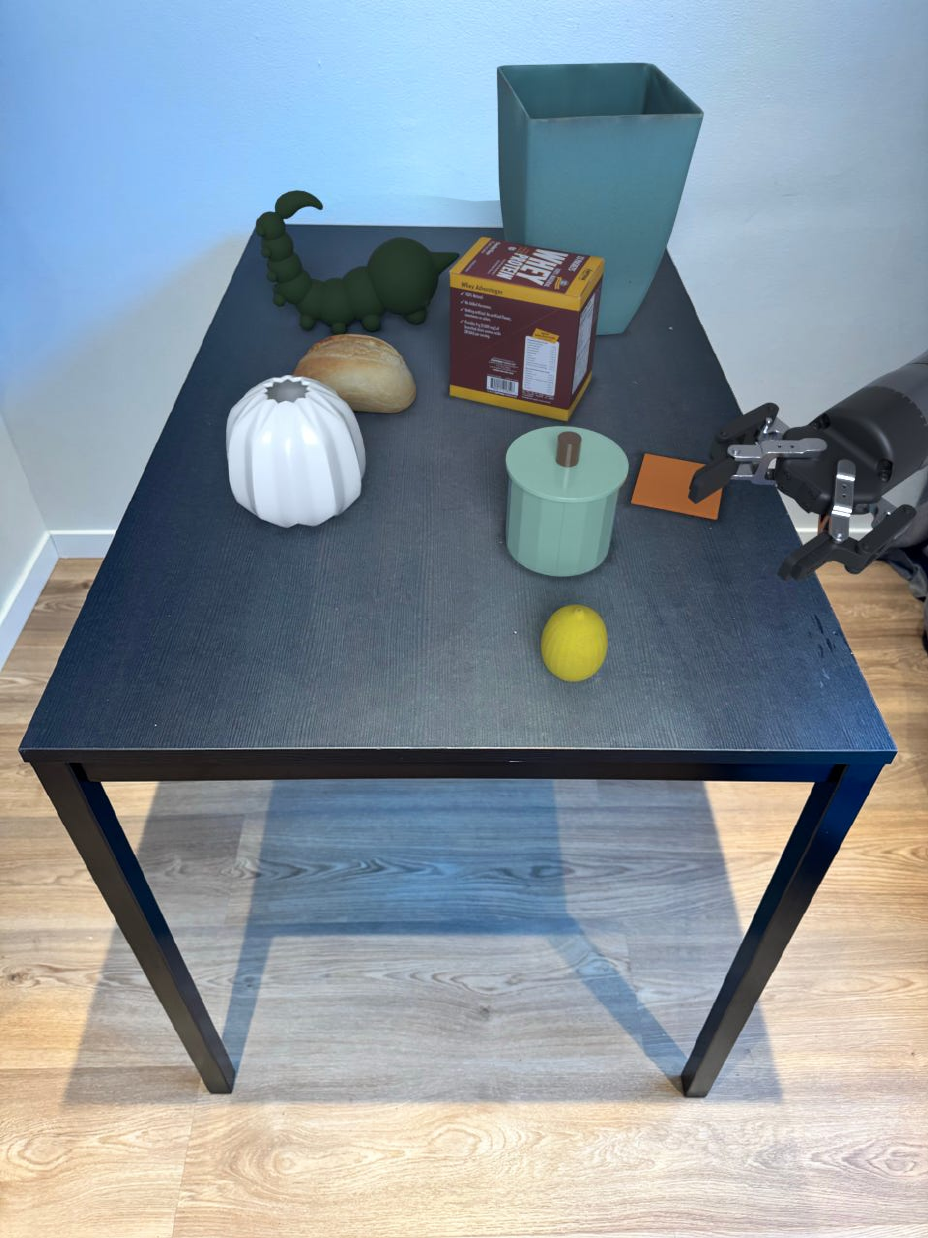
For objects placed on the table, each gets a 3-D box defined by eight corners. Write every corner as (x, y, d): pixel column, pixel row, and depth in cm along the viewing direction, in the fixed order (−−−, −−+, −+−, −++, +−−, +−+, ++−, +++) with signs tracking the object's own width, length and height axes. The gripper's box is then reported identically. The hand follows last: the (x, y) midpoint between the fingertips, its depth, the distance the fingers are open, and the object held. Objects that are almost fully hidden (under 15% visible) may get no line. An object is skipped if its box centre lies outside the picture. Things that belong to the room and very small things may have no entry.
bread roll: (295, 383, 109) (287, 323, 103) (416, 382, 109) (414, 322, 103) (288, 427, 102) (278, 365, 96) (416, 426, 102) (415, 364, 97)
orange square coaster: (725, 471, 97) (725, 468, 97) (716, 520, 91) (717, 517, 91) (644, 456, 99) (644, 453, 99) (630, 503, 93) (631, 500, 93)
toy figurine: (284, 358, 116) (470, 330, 117) (248, 212, 102) (458, 182, 104) (283, 324, 122) (459, 298, 124) (248, 182, 109) (447, 155, 110)
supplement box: (476, 356, 114) (480, 234, 103) (591, 380, 110) (607, 256, 99) (446, 395, 107) (446, 270, 96) (567, 422, 103) (582, 295, 92)
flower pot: (662, 348, 116) (707, 110, 96) (513, 358, 114) (528, 116, 93) (620, 281, 130) (652, 60, 109) (487, 288, 127) (495, 64, 107)
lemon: (579, 644, 79) (590, 578, 73) (613, 687, 75) (627, 622, 69) (525, 664, 77) (532, 598, 71) (557, 708, 73) (567, 644, 68)
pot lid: (636, 447, 85) (642, 415, 82) (615, 519, 77) (620, 486, 75) (522, 426, 87) (524, 394, 84) (490, 494, 79) (492, 461, 77)
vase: (294, 563, 86) (275, 448, 76) (209, 501, 92) (182, 388, 82) (396, 500, 93) (390, 387, 83) (310, 447, 99) (296, 337, 90)
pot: (617, 520, 91) (631, 444, 84) (598, 586, 84) (611, 509, 77) (520, 501, 93) (526, 425, 86) (493, 563, 86) (497, 486, 79)
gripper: (829, 340, 66) (676, 431, 60) (993, 451, 60) (838, 564, 54) (796, 414, 72) (654, 503, 67) (941, 522, 66) (798, 630, 61)
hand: (737, 530), depth 61 cm, fingers open, 8 cm apart
